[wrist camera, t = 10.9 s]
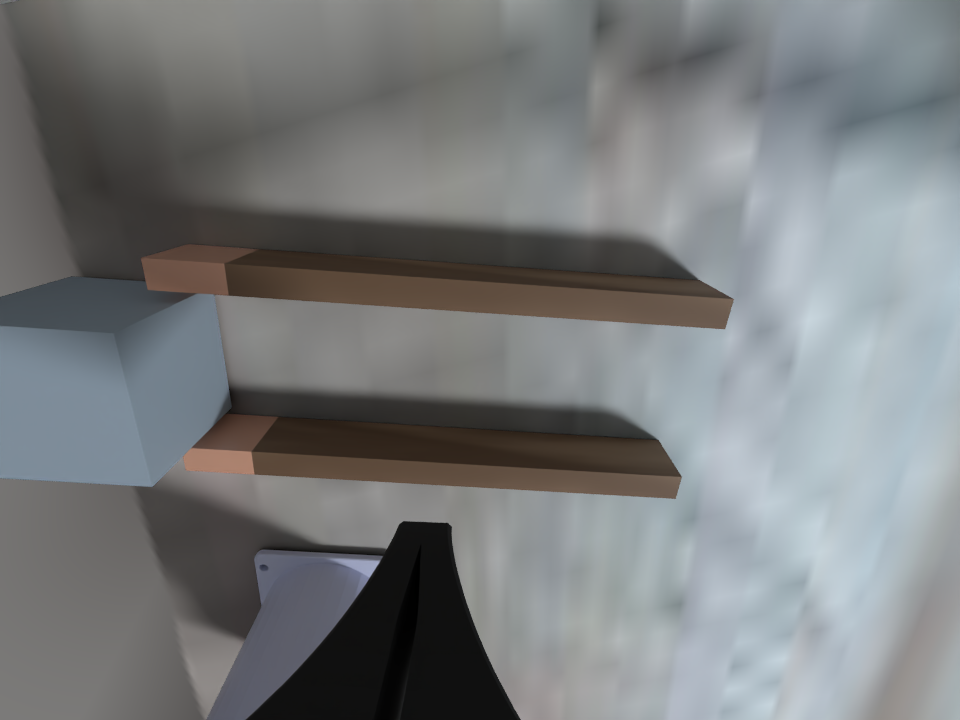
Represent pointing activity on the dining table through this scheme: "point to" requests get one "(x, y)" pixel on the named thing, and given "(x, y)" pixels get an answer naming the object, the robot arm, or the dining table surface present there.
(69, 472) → the block
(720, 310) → the brown wooden rails
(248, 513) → the dining table surface
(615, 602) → the dining table surface
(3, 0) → the supplement box
